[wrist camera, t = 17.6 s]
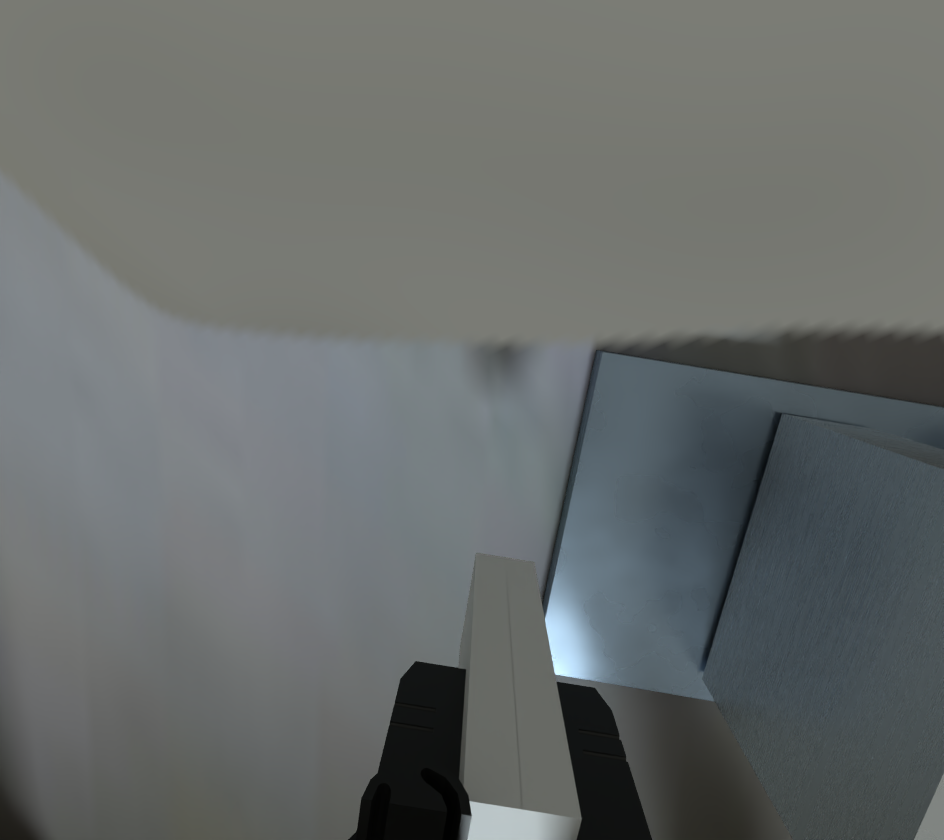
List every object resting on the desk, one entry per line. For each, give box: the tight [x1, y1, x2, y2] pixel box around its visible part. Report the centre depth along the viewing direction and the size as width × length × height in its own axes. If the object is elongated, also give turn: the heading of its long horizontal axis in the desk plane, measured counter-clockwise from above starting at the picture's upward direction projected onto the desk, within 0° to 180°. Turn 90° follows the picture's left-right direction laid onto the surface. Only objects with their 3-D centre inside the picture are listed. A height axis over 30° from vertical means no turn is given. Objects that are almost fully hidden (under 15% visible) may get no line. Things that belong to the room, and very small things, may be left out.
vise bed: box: [542, 350, 944, 702], centre depth 14 cm, size 20×12×9 cm, turn 81°
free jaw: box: [702, 414, 944, 840], centre depth 13 cm, size 4×10×8 cm, turn 171°
